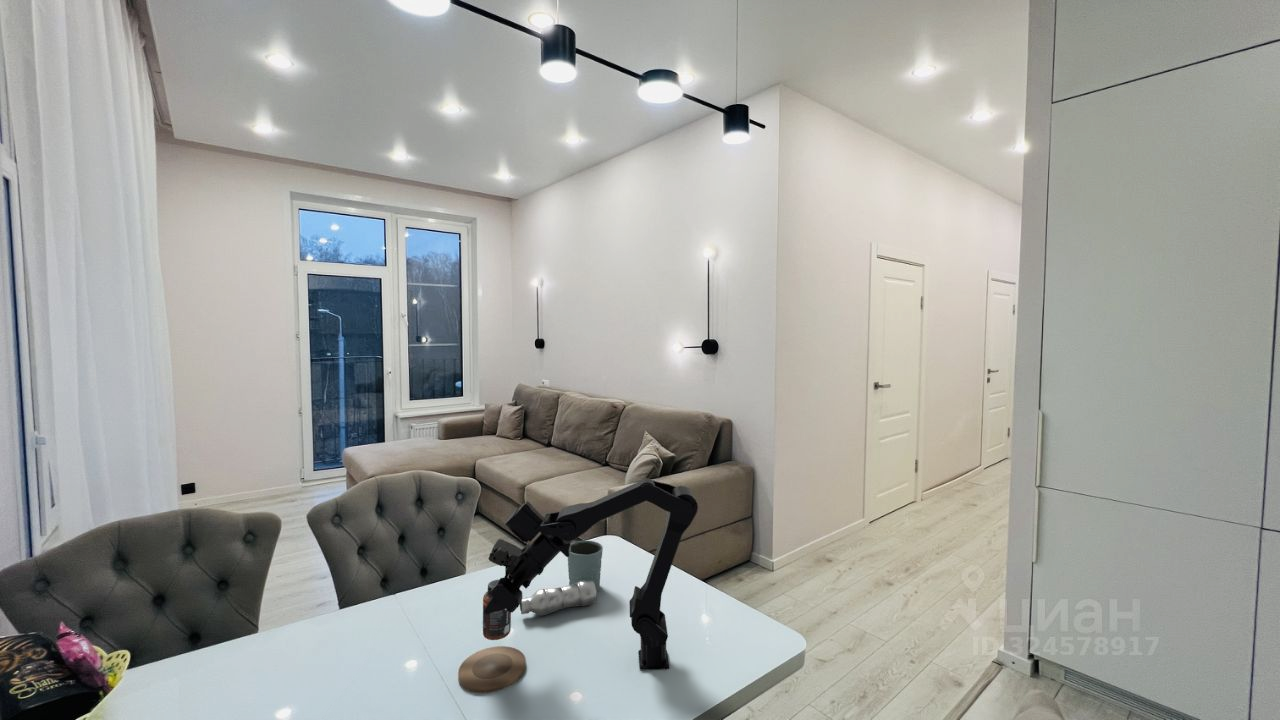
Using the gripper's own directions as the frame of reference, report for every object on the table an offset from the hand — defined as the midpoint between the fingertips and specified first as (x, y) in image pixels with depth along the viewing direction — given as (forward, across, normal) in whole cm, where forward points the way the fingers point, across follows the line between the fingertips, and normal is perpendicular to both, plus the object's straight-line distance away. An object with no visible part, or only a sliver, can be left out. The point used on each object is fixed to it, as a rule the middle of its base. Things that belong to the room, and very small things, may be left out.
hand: (489, 604), depth 113 cm
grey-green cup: (-2, -34, +22) cm, 40 cm away
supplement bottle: (+4, 0, +6) cm, 7 cm away
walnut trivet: (+9, +2, +10) cm, 14 cm away
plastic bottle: (-7, -27, +22) cm, 35 cm away
